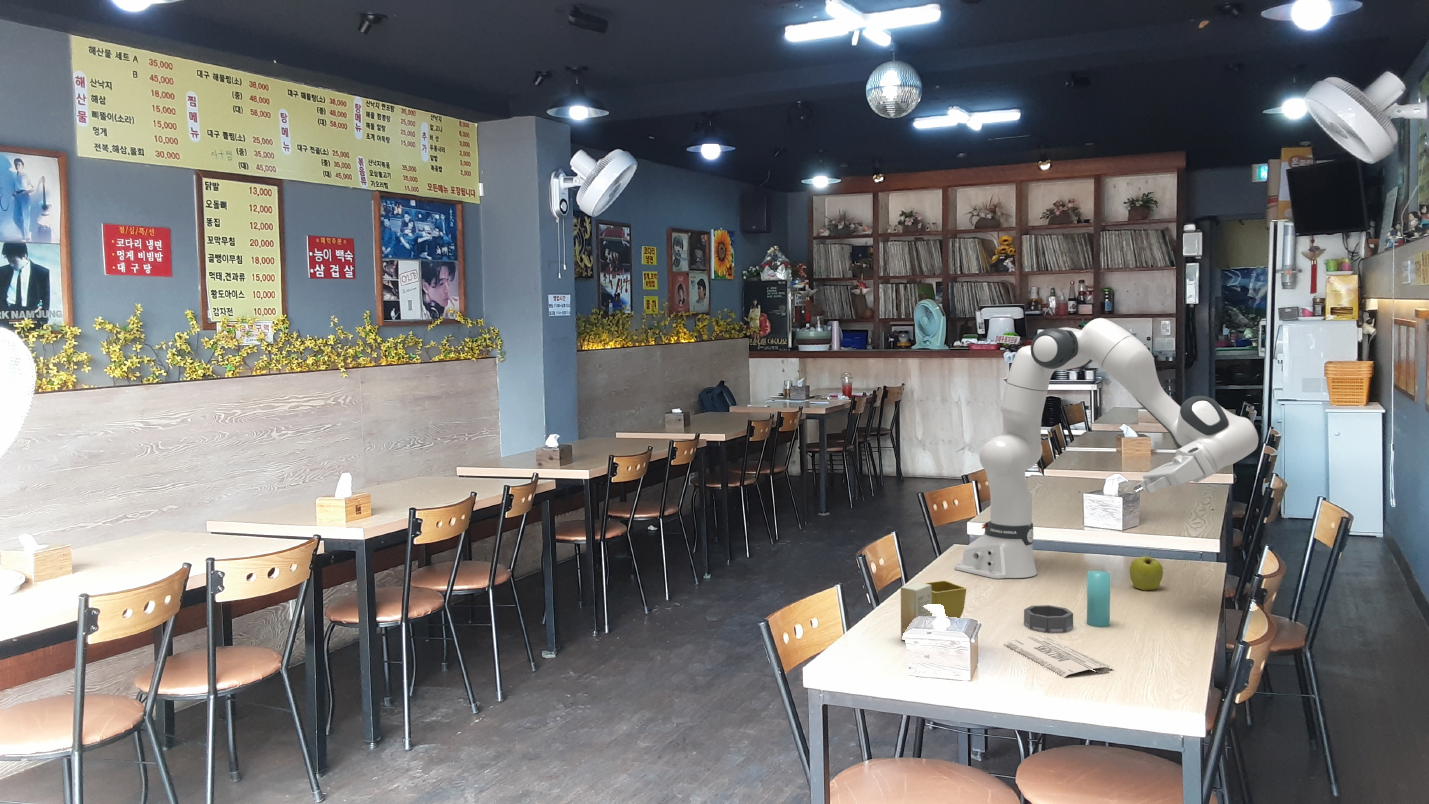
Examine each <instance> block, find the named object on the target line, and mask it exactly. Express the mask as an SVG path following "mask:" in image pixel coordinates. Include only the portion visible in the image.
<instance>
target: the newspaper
mask: <svg viewBox="0 0 1429 804" xmlns="http://www.w3.org/2000/svg"><path fill="white" fill-rule="evenodd" d="M1003 646H1004V647H1005V646H1006V648H1008V649H1009V648H1010V649H1009V650H1011V651H1013V650H1014V651H1013V652H1015V653H1016V652H1017V653H1016V654H1018V653H1019V655H1020V654H1021V656H1022V655H1023V657H1024V656H1025V657H1024V658H1026V657H1027V658H1026V659H1028V660H1030V659H1031V660H1032V661H1031V660H1030V661H1031V662H1033V661H1034V663H1035V662H1036V663H1035V664H1037V663H1038V664H1037V665H1039V664H1040V665H1039V666H1041V667H1043V666H1044V667H1043V668H1045V667H1046V668H1047V669H1046V668H1045V669H1046V670H1048V669H1049V670H1048V671H1050V670H1051V671H1050V672H1052V671H1053V672H1052V673H1054V672H1055V674H1056V673H1057V674H1056V675H1058V674H1059V675H1058V676H1059V677H1061V676H1063V677H1065V678H1066V677H1067V676H1070V675H1072V674H1077V673H1080V672H1084V671H1090V670H1089V669H1093V670H1095V671H1096V672H1098V673H1097V674H1105V673H1106V674H1107V673H1108V672H1110V669H1113V668H1114V667H1113V666H1110V665H1108V664H1106V663H1104V662H1102V661H1099V660H1097V659H1095V658H1092V657H1090V656H1087V655H1085V654H1083V653H1082V652H1081V653H1080V652H1079V651H1076V650H1074V649H1072V648H1070V647H1068V646H1066V645H1064V644H1061V643H1059V642H1058V641H1055V640H1053V639H1051V638H1048V637H1046V636H1045V635H1043V634H1038V635H1031V636H1026V637H1021V638H1017V639H1013V640H1009V641H1006V642H1005V643H1003ZM1063 677H1062V678H1063Z"/></svg>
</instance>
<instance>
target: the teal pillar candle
mask: <svg viewBox="0 0 1429 804" xmlns="http://www.w3.org/2000/svg"><path fill="white" fill-rule="evenodd" d="M1086 572H1087V574H1086V576H1087V577H1086V578H1087V579H1086V580H1087V581H1086V624H1087V625H1088V626H1091V627H1094V628H1107V627H1109V626H1110V625H1111V624H1110V623H1111V617H1110V616H1111V573H1110V572H1109V571H1105V570H1088V571H1086Z"/></svg>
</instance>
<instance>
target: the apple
mask: <svg viewBox="0 0 1429 804" xmlns="http://www.w3.org/2000/svg"><path fill="white" fill-rule="evenodd" d="M1151 554H1152V552H1149V554H1148V556H1140V557H1137V558H1135V559H1134V560H1132V561H1131V562H1132V563H1131V564H1130V566H1129V575H1130V576H1129V578H1130V581H1131V584H1132V585H1133V587H1134V588H1136V589H1139V590H1142V591H1148V590H1149V591H1151V590H1152V591H1153V590H1156V589H1158V588H1159V586H1160V585H1161V582H1162V580H1163V575H1164V569H1163V565H1162V564H1161V562H1159V561H1158V560H1157V559H1155V558H1153V557H1150V556H1151Z"/></svg>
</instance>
